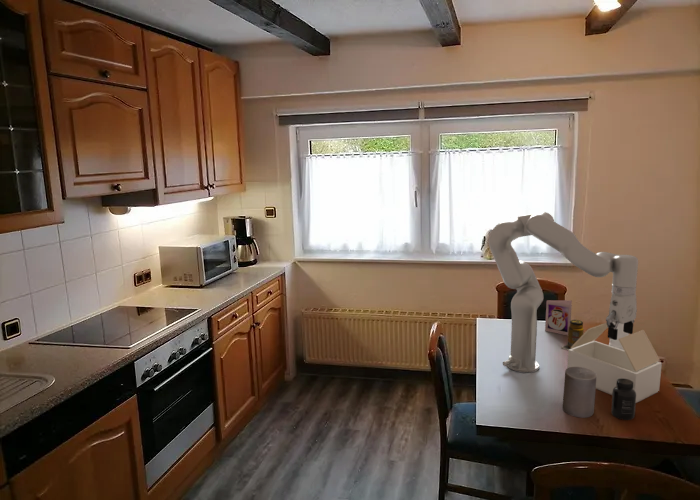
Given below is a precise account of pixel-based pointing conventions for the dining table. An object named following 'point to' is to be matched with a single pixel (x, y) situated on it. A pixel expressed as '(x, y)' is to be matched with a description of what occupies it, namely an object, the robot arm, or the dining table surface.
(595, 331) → the far flap
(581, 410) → the pillar candle
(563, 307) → the greeting card
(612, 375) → the carton
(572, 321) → the condiment
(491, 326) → the dining table surface
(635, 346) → the near flap
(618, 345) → the water bottle
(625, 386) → the supplement bottle
